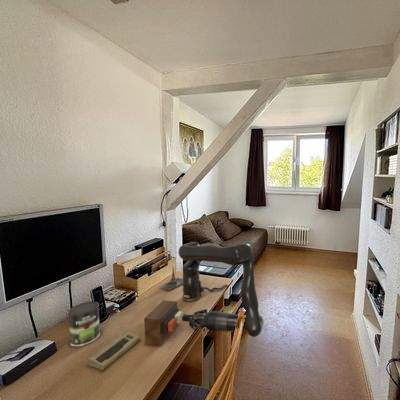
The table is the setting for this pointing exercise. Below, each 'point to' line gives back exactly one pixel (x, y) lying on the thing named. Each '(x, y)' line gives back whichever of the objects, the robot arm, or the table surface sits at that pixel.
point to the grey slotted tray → (113, 351)
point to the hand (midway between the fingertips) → (182, 317)
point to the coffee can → (84, 323)
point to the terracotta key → (172, 325)
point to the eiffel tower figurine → (172, 283)
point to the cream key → (178, 316)
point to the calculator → (110, 307)
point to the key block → (159, 322)
